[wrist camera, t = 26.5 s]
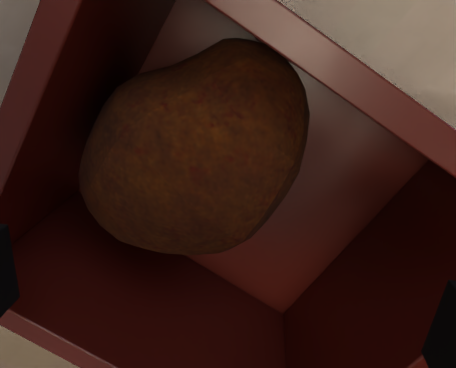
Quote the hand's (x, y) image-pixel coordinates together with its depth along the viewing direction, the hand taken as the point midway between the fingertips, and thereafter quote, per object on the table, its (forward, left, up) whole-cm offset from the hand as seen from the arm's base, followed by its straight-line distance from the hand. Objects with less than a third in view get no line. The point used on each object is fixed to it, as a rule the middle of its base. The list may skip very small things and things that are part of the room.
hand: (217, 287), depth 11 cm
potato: (-1, 0, -8) cm, 8 cm away
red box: (0, 0, -11) cm, 11 cm away
